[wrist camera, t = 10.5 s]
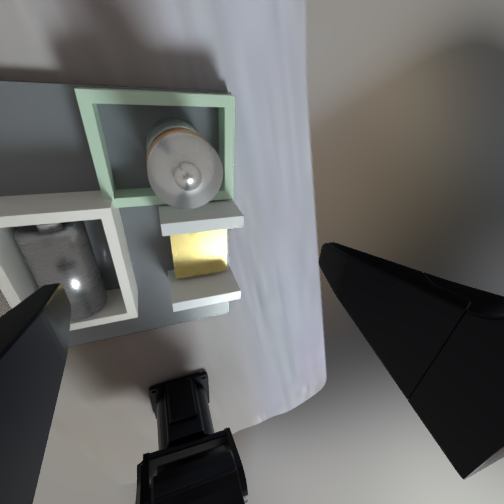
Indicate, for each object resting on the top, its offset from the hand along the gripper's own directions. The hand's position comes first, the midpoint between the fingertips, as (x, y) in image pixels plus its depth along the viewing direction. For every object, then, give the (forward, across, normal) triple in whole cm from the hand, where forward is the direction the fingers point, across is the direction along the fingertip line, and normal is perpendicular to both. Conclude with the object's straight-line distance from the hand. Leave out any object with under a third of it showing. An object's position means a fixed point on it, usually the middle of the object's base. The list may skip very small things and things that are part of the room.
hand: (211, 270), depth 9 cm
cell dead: (+11, +7, +5) cm, 14 cm away
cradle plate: (+10, -1, +5) cm, 11 cm away
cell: (+11, 0, -2) cm, 11 cm away
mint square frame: (+12, +4, +4) cm, 13 cm away
